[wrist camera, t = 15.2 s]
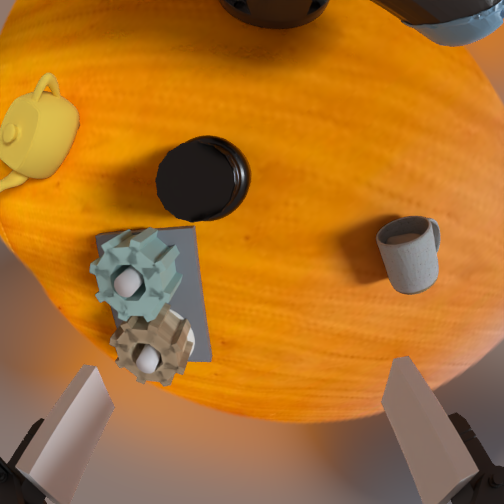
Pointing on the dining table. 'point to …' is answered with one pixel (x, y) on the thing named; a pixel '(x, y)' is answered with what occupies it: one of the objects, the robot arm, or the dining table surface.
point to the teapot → (37, 133)
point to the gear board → (185, 289)
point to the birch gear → (154, 345)
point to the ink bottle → (203, 179)
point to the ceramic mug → (410, 253)
